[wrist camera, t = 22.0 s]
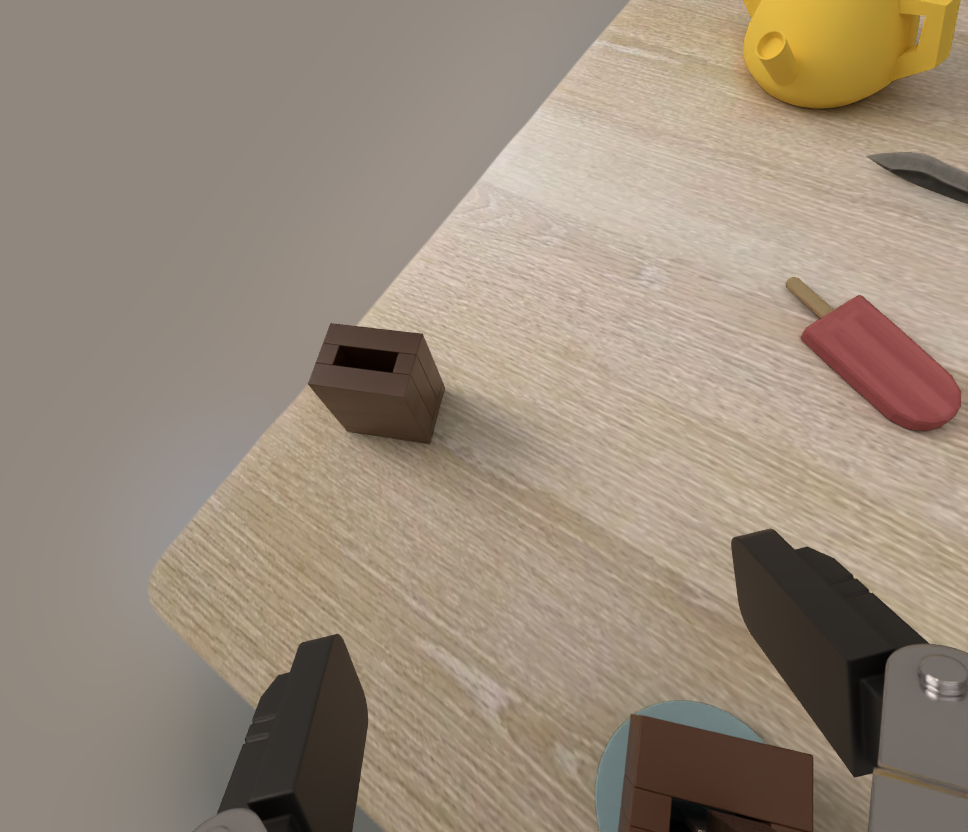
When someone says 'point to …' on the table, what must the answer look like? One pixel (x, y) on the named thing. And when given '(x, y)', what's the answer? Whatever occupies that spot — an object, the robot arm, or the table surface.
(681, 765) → the slotted wooden stand
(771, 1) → the teapot
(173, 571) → the table surface
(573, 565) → the table surface
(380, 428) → the knife block
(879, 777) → the robot arm
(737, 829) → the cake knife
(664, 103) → the table surface
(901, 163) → the knife
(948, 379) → the popsicle
